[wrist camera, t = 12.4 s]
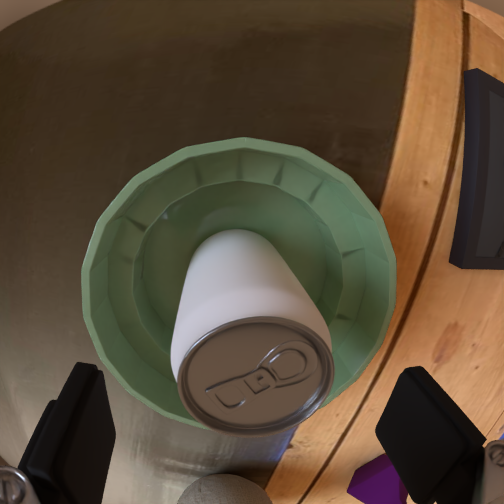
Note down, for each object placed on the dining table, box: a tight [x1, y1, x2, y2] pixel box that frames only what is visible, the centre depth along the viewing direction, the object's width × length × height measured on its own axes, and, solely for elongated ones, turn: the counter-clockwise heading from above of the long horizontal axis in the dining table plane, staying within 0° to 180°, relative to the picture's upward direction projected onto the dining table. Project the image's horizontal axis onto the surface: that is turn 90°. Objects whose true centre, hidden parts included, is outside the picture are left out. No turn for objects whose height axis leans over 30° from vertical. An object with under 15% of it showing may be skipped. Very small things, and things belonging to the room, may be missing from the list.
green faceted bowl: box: [81, 137, 397, 430], centre depth 19 cm, size 17×17×7 cm
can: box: [171, 229, 335, 438], centre depth 16 cm, size 6×6×12 cm
